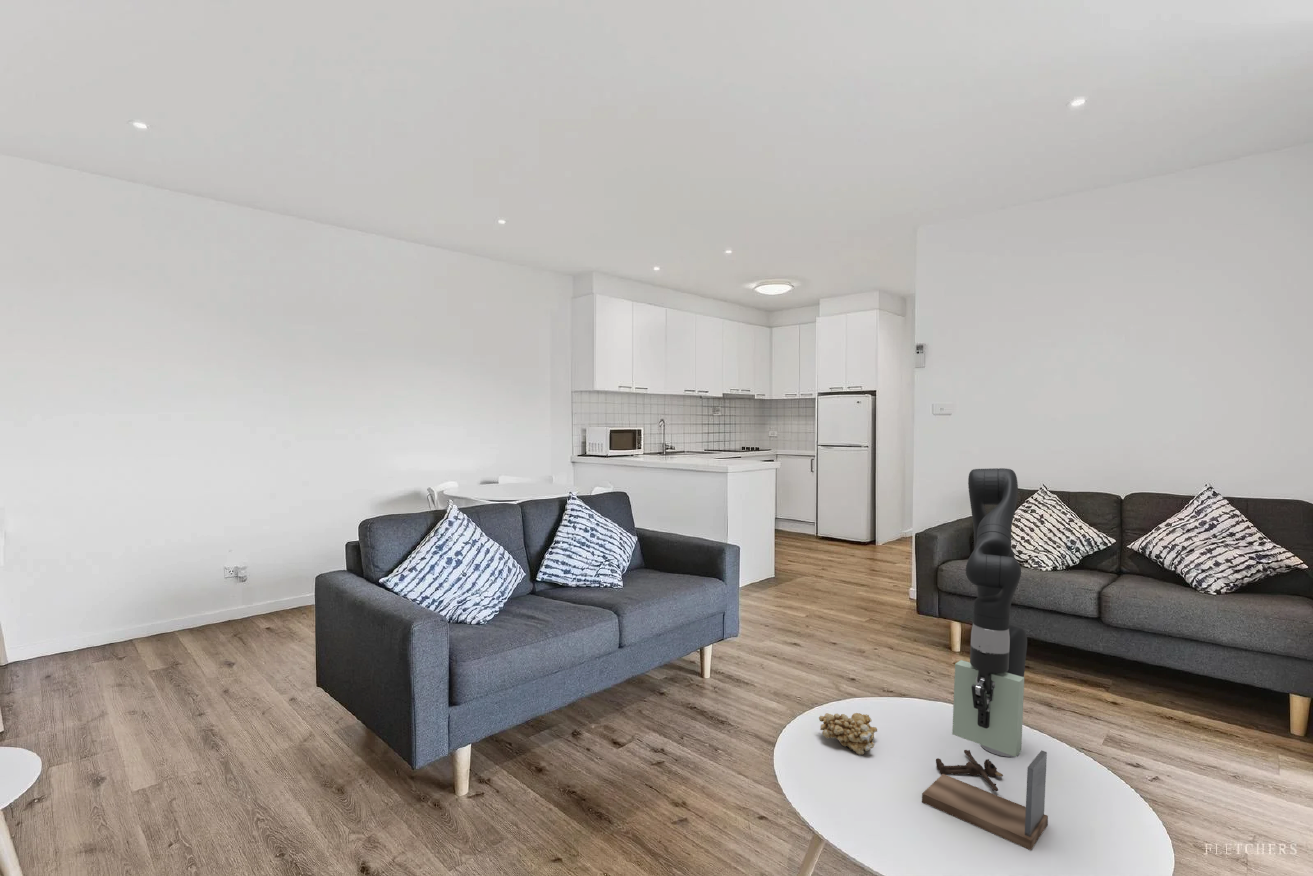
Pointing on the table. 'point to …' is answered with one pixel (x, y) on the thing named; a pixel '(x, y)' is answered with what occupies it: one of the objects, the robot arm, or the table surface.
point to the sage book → (1003, 710)
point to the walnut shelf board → (982, 810)
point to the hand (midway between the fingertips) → (986, 723)
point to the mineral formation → (849, 730)
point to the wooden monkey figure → (971, 769)
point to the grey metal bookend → (1035, 793)
